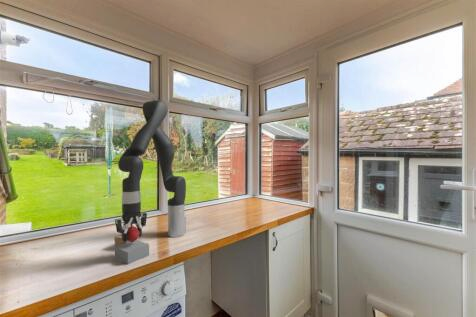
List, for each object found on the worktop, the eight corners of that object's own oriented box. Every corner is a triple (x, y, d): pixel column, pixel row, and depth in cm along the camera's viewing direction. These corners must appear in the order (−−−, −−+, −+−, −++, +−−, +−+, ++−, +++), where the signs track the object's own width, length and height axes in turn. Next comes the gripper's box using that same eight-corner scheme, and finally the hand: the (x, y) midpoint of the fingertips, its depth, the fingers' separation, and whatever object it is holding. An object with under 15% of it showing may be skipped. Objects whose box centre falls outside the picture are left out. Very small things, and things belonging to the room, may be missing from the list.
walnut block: (126, 243, 114) (126, 232, 114) (137, 245, 112) (137, 233, 112) (114, 249, 108) (114, 236, 108) (126, 250, 106) (126, 238, 106)
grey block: (135, 250, 106) (135, 239, 106) (149, 255, 100) (149, 244, 100) (114, 258, 97) (114, 247, 97) (128, 264, 92) (127, 252, 92)
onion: (141, 239, 102) (141, 222, 102) (136, 244, 96) (135, 226, 96) (128, 240, 102) (128, 222, 102) (122, 245, 96) (122, 226, 96)
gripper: (141, 197, 107) (141, 232, 107) (110, 203, 95) (111, 242, 95) (150, 199, 103) (151, 235, 103) (120, 205, 91) (121, 246, 91)
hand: (132, 238), depth 99 cm, fingers closed on onion, 6 cm apart
